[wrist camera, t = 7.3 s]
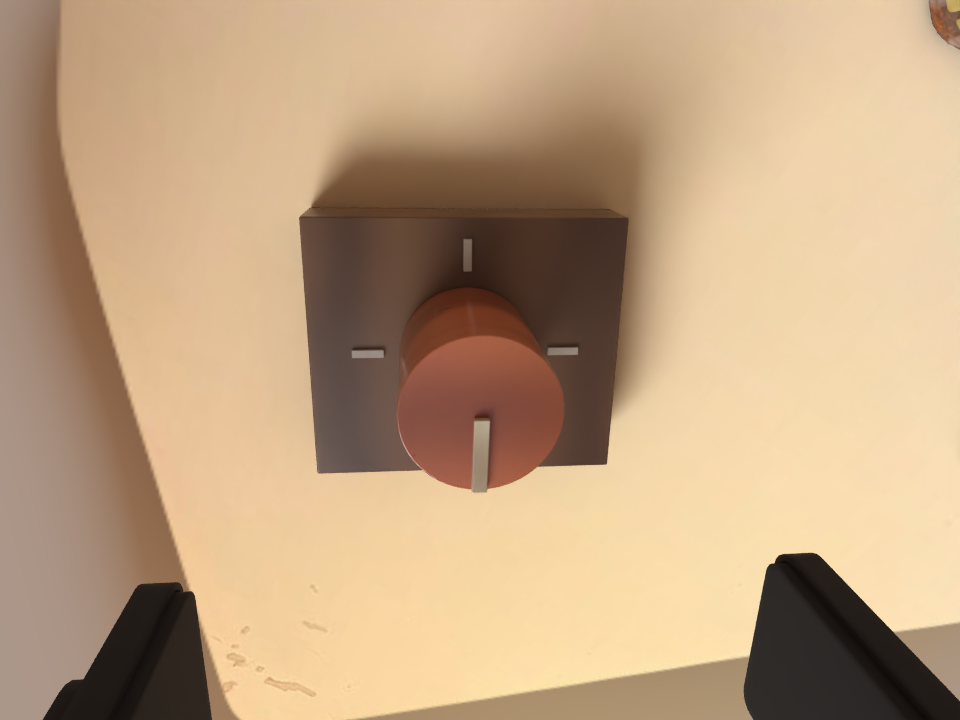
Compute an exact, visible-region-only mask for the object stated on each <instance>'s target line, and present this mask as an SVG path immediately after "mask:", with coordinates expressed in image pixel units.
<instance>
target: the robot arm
mask: <svg viewBox="0 0 960 720" xmlns="http://www.w3.org/2000/svg"><path fill="white" fill-rule="evenodd" d="M744 698H745V703H746V706H747V709H748V711H749V713H750V715H751V716H752V718H753V720H960V701H959V700H958V699H957V698H956V697H955V696H954V695H953V694H952V693H951V692H950V691H949V690H948V689H947V688H946V686H945V685H944V684H943V683H942V682H941V681H940V680H939V679H938V678H937V677H936V676H935V675H934V674H933V673H932V672H931V671H930V670H929V669H928V668H927V667H926V666H925V665H924V664H923V663H922V662H921V661H920V659H919V658H918V657H916V655H915V654H914V653H913V652H912V651H911V650H910V649H909V648H908V647H907V646H906V645H905V644H904V643H903V642H902V641H901V640H900V639H899V638H898V637H897V636H896V635H895V634H894V632H893V631H892V630H891V629H890V628H889V627H888V626H887V625H886V624H885V623H884V622H883V621H882V620H881V619H880V618H879V617H878V616H877V615H876V614H875V613H874V612H873V611H872V610H871V609H870V608H869V606H868V605H867V604H866V603H865V602H864V601H863V600H862V599H861V598H860V597H859V596H858V595H857V594H856V593H855V592H854V591H853V590H852V589H851V588H850V587H849V586H848V585H847V584H846V583H845V582H844V581H843V579H842V578H841V577H840V576H839V575H838V574H837V573H836V572H835V571H834V570H833V569H832V568H831V567H830V566H829V565H828V564H827V563H826V562H825V561H824V560H823V559H822V558H821V557H820V556H819V555H817V554H815V553H798V554H782V555H779V556H778V557H777V559H776V561H775V563H774V564H770V565H769V566H768V567H767V570H766V575H765V580H764V585H763V590H762V595H761V601H760V606H759V611H758V616H757V621H756V627H755V632H754V637H753V642H752V647H751V652H750V658H749V663H748V668H747V673H746V678H745V684H744ZM43 720H212V717H211V709H210V702H209V695H208V688H207V680H206V673H205V666H204V658H203V651H202V644H201V638H200V629H199V622H198V615H197V607H196V600H195V595H194V593H193V592H191V591H190V592H183V588H182V586H181V584H180V583H178V582H177V583H176V582H174V583H154V584H141V585H138V586H137V588H136V589H135V590H134V592H133V594H132V596H131V598H130V599H129V601H128V603H127V604H126V606H125V608H124V610H123V611H122V613H121V615H120V617H119V619H118V620H117V622H116V624H115V625H114V627H113V629H112V631H111V632H110V634H109V636H108V638H107V639H106V641H105V643H104V644H103V647H102V648H101V650H100V652H99V653H98V655H97V657H96V658H95V660H94V662H93V664H92V665H91V667H90V669H89V671H88V672H87V674H86V676H85V678H84V679H83V680H72V681H70V682H69V683H67V684H66V685H65V686H64V687H63V688H62V690H61V691H60V692H59V694H58V695H57V697H56V699H55V700H54V702H53V704H52V705H51V707H50V709H49V710H48V712H47V714H46V715H45V717H44V719H43Z"/></svg>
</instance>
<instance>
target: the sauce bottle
mask: <svg viewBox="0 0 960 720" xmlns="http://www.w3.org/2000/svg"><path fill="white" fill-rule="evenodd" d="M929 4H930V11H931V19H932V24H933V26H934V27H935V29H936V30H937V33H938V34H939V35H940V36H941V37H942V38H943V39H944V40H945V41H946V42H947V43H948V44H951V45H953V46H955V47H956V48H958V49H960V0H929Z"/></svg>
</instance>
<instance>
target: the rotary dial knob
mask: <svg viewBox="0 0 960 720" xmlns="http://www.w3.org/2000/svg"><path fill="white" fill-rule="evenodd" d="M564 406H565V404H564V397H563V392H562V388H561V385H560V382H559V380H558V378H557V376H556V374H555V372H554V370H553V369H552V367H551V365H550V363H549V361H548V360H547V358H546V356H545V354H544V353H543V351H542V349H541V347H540V346H539V344H538V342H537V340H536V338H535V337H534V335H533V333H532V331H531V330H530V328H529V326H528V324H527V322H526V321H525V319H524V318H523V316H522V314H521V313H520V312H519V311H518V309H517V308H516V307H515V306H514V305H513V304H512V303H510V302H509V301H508V300H506V299H505V298H504V297H502V296H500V295H498V294H496V293H494V292H491V291H488V290H485V289H480V288H471V287H465V288H456V289H450V290H447V291H444V292H441V293H439V294H437V295H435V296H433V297H432V298H430V299H428V300H427V301H426V302H424V303H423V304H422V305H421V306H420V307H419V308H418V309H417V310H416V311H415V312H414V313H413V315H412V316H411V317H410V319H409V320H408V322H407V324H406V326H405V328H404V331H403V334H402V338H401V342H400V355H399V375H398V394H397V414H396V417H397V427H398V431H399V436H400V438H401V441H402V444H403V446H404V448H405V449H406V451H407V453H408V454H409V456H410V457H411V458H412V460H413V461H414V462H415V463H416V464H417V465H418V466H419V467H420V468H421V469H422V470H423V471H424V472H426V473H427V474H428V475H430V476H431V477H433V478H435V479H437V480H438V481H441V482H443V483H446V484H448V485H451V486H455V487H459V488H465V489H472V492H473V493H478V492H487V489H490V488H495V487H500V486H503V485H506V484H509V483H512V482H514V481H516V480H518V479H520V478H522V477H524V476H525V475H527V474H529V473H530V472H531V471H533V470H534V469H535V468H537V467H538V466H539V465H540V464H541V463H542V462H543V461H544V460H545V458H546V457H547V456H548V455H549V453H550V452H551V450H552V449H553V447H554V446H555V444H556V442H557V440H558V437H559V435H560V432H561V429H562V426H563V420H564Z"/></svg>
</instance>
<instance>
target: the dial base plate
mask: <svg viewBox="0 0 960 720" xmlns="http://www.w3.org/2000/svg"><path fill="white" fill-rule="evenodd" d="M299 221H300V235H301V249H302V263H303V278H304V292H305V306H306V320H307V334H308V348H309V362H310V376H311V390H312V404H313V418H314V432H315V446H316V460H317V472H318V473H349V472H381V471H413V470H422V469H421V468H420V467H419V466H418V465H417V464H416V463H415V462H414V461H413V460H412V458H411V457H410V456H409V454H408V453H407V451H406V449H405V448H404V446H403V444H402V441H401V438H400V436H399V431H398V427H397V417H396V414H397V394H398V375H399V355H400V342H401V338H402V334H403V331H404V328H405V326H406V324H407V322H408V320H409V319H410V317H411V316H412V315H413V313H414V312H415V311H416V310H417V309H418V308H419V307H420V306H421V305H422V304H423V303H424V302H426V301H427V300H428V299H430V298H432V297H433V296H435V295H437V294H439V293H441V292H444V291H447V290H450V289H456V288H465V287H471V288H480V289H485V290H488V291H491V292H494V293H496V294H498V295H500V296H502V297H504V298H505V299H506V300H508V301H509V302H510V303H512V304H513V305H514V306H515V307H516V308H517V309H518V311H519V312H520V313H521V314H522V316H523V318H524V319H525V321H526V322H527V324H528V326H529V328H530V330H531V331H532V333H533V335H534V337H535V338H536V340H537V342H538V344H539V346H540V347H541V349H542V351H543V353H544V354H545V356H546V358H547V360H548V361H549V363H550V365H551V367H552V369H553V370H554V372H555V374H556V376H557V378H558V380H559V382H560V385H561V388H562V392H563V397H564V404H565V406H564V420H563V426H562V429H561V432H560V435H559V437H558V440H557V442H556V444H555V446H554V447H553V449H552V450H551V452H550V453H549V455H548V456H547V457H546V458H545V460H544V461H543V462H542V463H541V464H540V465H539V466H538V467H542V466H574V465H606V464H607V457H608V446H609V434H610V423H611V412H612V401H613V389H614V378H615V367H616V356H617V345H618V333H619V322H620V311H621V300H622V288H623V277H624V266H625V255H626V244H627V232H628V221H629V219H628V218H627V217H625V216H622V215H620V214H618V213H616V212H614V211H611V210H609V209H440V208H309V209H308V210H307V211H306V212H305V213H304V214H302V215H301V216H300V218H299Z"/></svg>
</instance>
